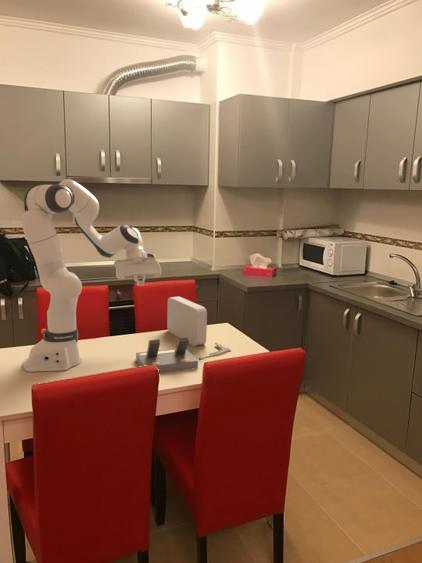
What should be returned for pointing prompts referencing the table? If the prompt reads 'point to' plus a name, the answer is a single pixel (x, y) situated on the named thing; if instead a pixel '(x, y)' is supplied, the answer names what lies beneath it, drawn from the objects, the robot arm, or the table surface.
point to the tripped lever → (153, 348)
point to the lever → (181, 346)
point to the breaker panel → (168, 360)
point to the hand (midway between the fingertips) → (141, 285)
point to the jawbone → (221, 351)
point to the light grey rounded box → (187, 320)
